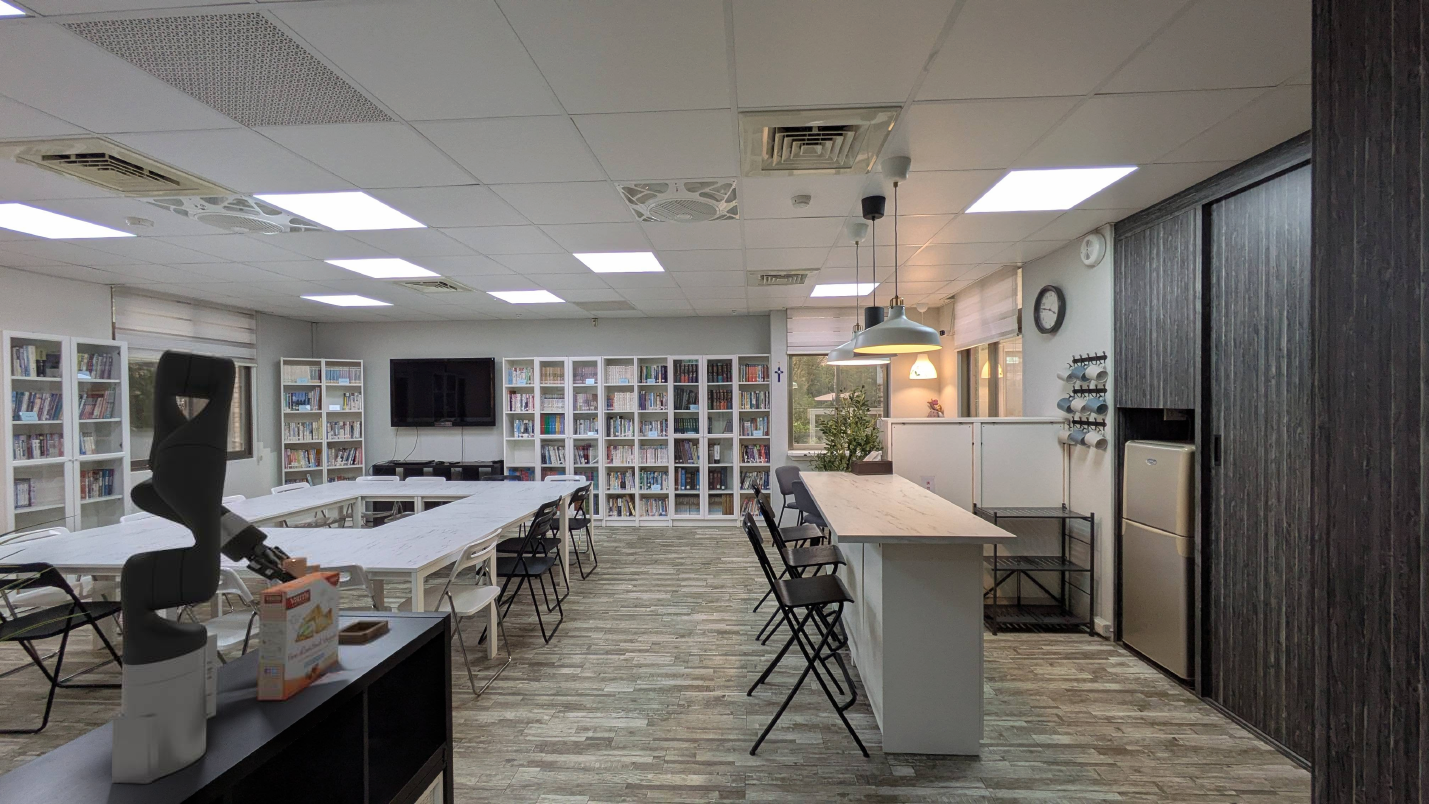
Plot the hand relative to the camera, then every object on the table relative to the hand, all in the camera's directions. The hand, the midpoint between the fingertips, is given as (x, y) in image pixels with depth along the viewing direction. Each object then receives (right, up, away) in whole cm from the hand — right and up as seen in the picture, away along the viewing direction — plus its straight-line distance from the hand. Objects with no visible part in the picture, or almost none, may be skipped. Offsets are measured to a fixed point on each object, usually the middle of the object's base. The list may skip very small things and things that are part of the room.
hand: (300, 582), depth 122 cm
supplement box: (+1, -15, -30) cm, 34 cm away
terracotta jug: (0, -4, 0) cm, 4 cm away
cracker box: (+13, -15, -16) cm, 26 cm away
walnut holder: (+11, -16, +4) cm, 20 cm away
